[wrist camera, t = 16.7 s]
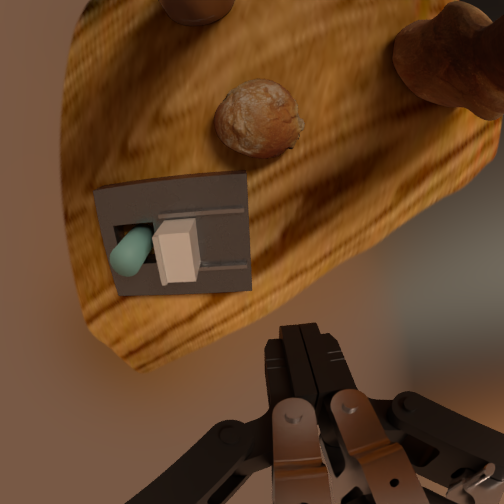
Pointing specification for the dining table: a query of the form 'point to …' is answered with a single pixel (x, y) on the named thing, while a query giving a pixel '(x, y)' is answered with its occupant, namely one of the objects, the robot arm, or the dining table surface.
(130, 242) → the peg
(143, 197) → the housing
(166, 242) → the block
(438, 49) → the ceramic vessel
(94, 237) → the dining table surface
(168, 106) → the dining table surface
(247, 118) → the bread roll
